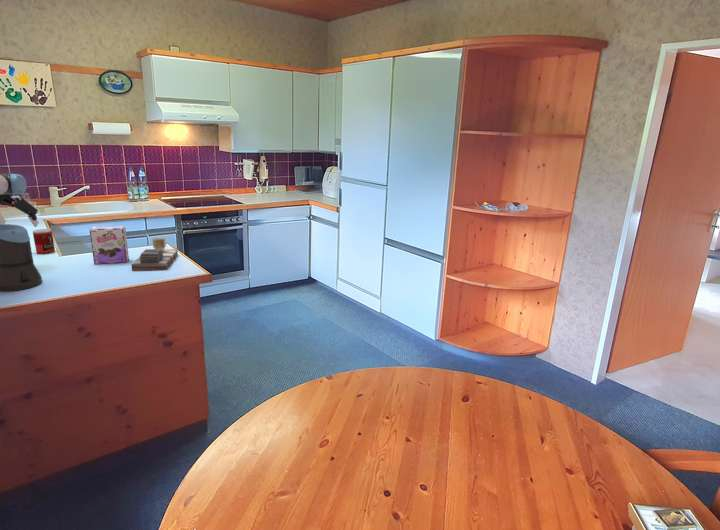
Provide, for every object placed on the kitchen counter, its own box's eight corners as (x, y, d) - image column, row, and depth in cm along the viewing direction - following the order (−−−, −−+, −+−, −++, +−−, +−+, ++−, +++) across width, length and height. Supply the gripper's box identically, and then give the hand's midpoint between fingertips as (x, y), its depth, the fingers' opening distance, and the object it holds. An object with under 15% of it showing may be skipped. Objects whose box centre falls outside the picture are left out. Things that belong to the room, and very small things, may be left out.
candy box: (93, 264, 206) (88, 229, 202) (97, 261, 212) (92, 226, 207) (127, 263, 210) (122, 228, 206) (129, 259, 215) (125, 225, 211)
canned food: (46, 254, 221) (42, 232, 218) (32, 253, 222) (28, 231, 219) (59, 251, 228) (55, 229, 225) (45, 250, 229) (41, 228, 226)
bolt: (161, 255, 212) (160, 242, 211) (150, 255, 211) (149, 242, 210) (166, 249, 222) (165, 237, 220) (155, 250, 221) (154, 238, 219)
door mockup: (166, 270, 201) (164, 255, 199) (132, 271, 198) (130, 255, 196) (177, 255, 225) (176, 241, 223) (147, 255, 223) (146, 242, 221)
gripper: (31, 182, 187) (53, 219, 203) (-33, 179, 185) (-6, 217, 201) (23, 194, 182) (46, 231, 198) (-43, 191, 180) (-15, 229, 196)
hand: (20, 224), depth 200 cm, fingers open, 13 cm apart
